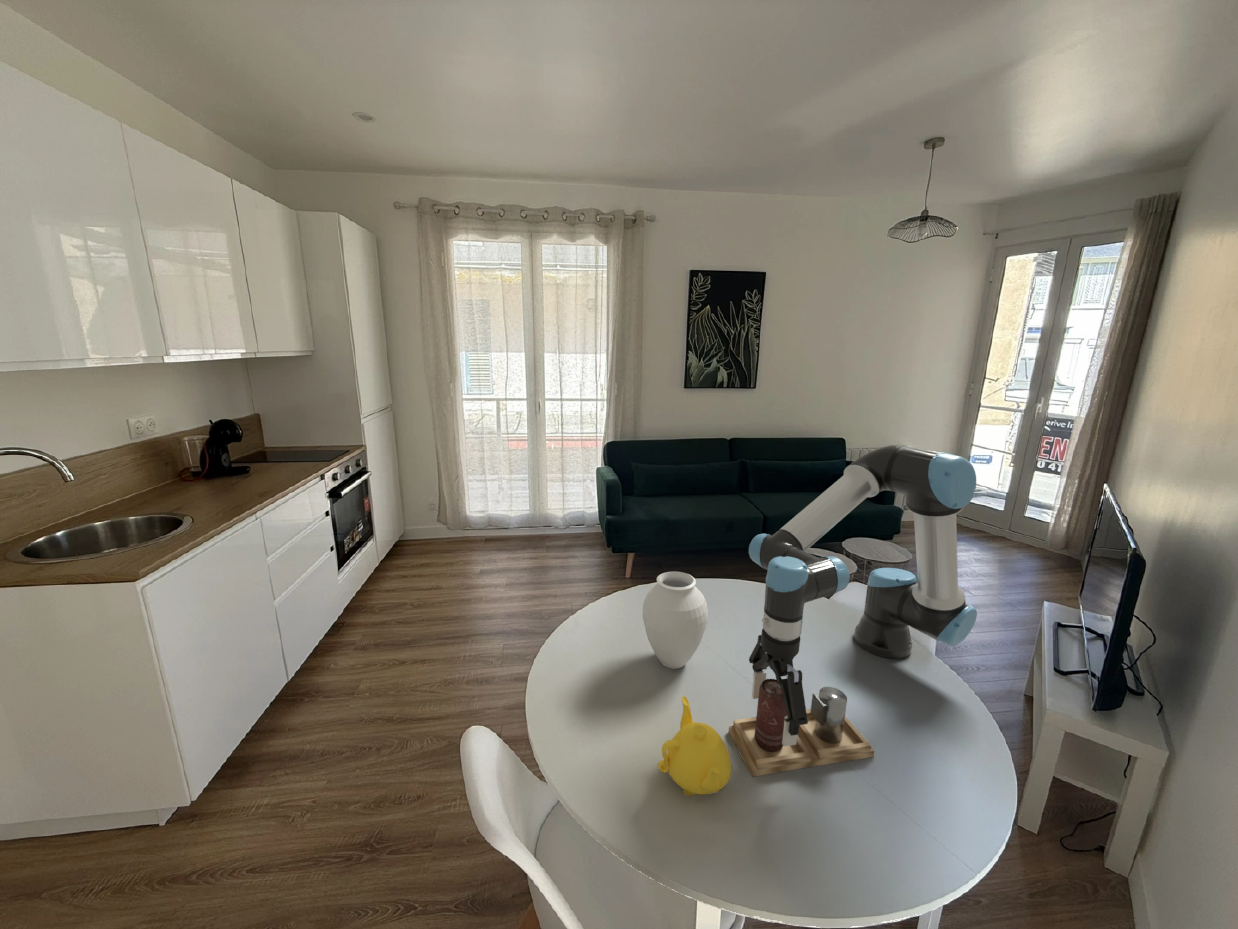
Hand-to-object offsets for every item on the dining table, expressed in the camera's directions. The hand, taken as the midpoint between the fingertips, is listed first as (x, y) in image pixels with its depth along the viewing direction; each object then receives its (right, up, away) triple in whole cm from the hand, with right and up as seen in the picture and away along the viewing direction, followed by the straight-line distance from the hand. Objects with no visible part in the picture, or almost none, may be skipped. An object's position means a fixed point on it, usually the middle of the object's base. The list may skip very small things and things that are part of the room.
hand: (772, 719), depth 103 cm
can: (0, -6, +2) cm, 6 cm away
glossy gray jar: (+13, -5, +4) cm, 15 cm away
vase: (-18, 0, +31) cm, 36 cm away
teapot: (-18, -9, -5) cm, 21 cm away
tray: (+7, -7, +3) cm, 10 cm away
